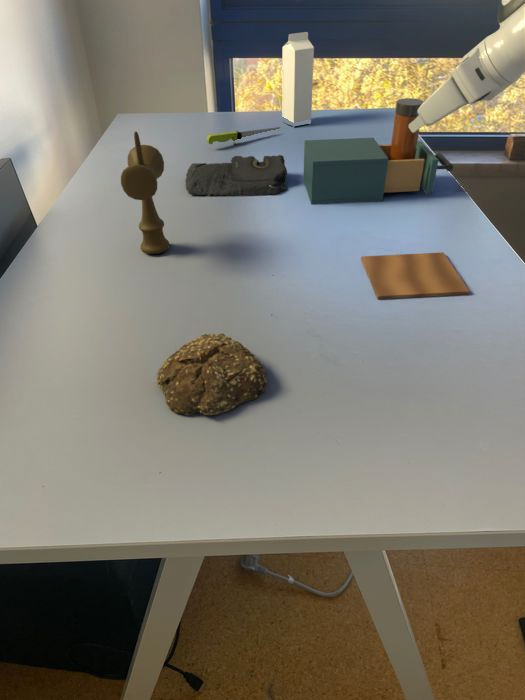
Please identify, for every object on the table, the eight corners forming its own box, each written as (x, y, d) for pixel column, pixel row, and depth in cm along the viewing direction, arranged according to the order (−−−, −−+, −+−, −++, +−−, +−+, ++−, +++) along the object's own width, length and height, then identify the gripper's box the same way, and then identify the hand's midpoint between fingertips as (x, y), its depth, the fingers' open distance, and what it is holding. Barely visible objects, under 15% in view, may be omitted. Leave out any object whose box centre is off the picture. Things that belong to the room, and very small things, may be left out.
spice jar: (407, 173, 110) (419, 97, 101) (414, 182, 106) (428, 104, 97) (383, 174, 110) (393, 98, 100) (389, 183, 106) (400, 105, 96)
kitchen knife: (277, 137, 140) (278, 125, 138) (280, 138, 139) (281, 127, 138) (206, 147, 130) (206, 134, 128) (208, 148, 129) (208, 136, 127)
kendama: (174, 235, 94) (158, 121, 82) (170, 262, 87) (151, 140, 74) (142, 237, 94) (120, 122, 82) (134, 263, 87) (110, 142, 74)
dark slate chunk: (189, 170, 119) (187, 149, 116) (284, 168, 120) (284, 147, 116) (183, 197, 108) (180, 175, 105) (288, 194, 108) (288, 172, 105)
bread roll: (224, 338, 71) (222, 308, 68) (280, 387, 63) (280, 356, 60) (140, 376, 65) (133, 346, 62) (190, 436, 57) (184, 404, 54)
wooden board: (442, 255, 87) (443, 252, 87) (469, 294, 78) (470, 291, 78) (360, 259, 87) (361, 256, 86) (377, 299, 77) (378, 296, 77)
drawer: (434, 171, 114) (440, 139, 109) (452, 192, 105) (460, 158, 100) (355, 175, 113) (358, 143, 109) (366, 196, 104) (370, 162, 100)
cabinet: (368, 177, 114) (373, 137, 109) (382, 201, 104) (388, 158, 99) (303, 180, 114) (304, 140, 108) (311, 204, 104) (312, 161, 98)
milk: (311, 124, 145) (315, 33, 131) (293, 128, 143) (295, 35, 128) (299, 119, 149) (301, 30, 135) (281, 122, 147) (282, 32, 132)
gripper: (494, 46, 95) (433, 96, 106) (454, 67, 83) (389, 121, 93) (512, 75, 96) (450, 122, 107) (475, 101, 83) (409, 151, 94)
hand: (421, 122), depth 100 cm, fingers open, 8 cm apart
